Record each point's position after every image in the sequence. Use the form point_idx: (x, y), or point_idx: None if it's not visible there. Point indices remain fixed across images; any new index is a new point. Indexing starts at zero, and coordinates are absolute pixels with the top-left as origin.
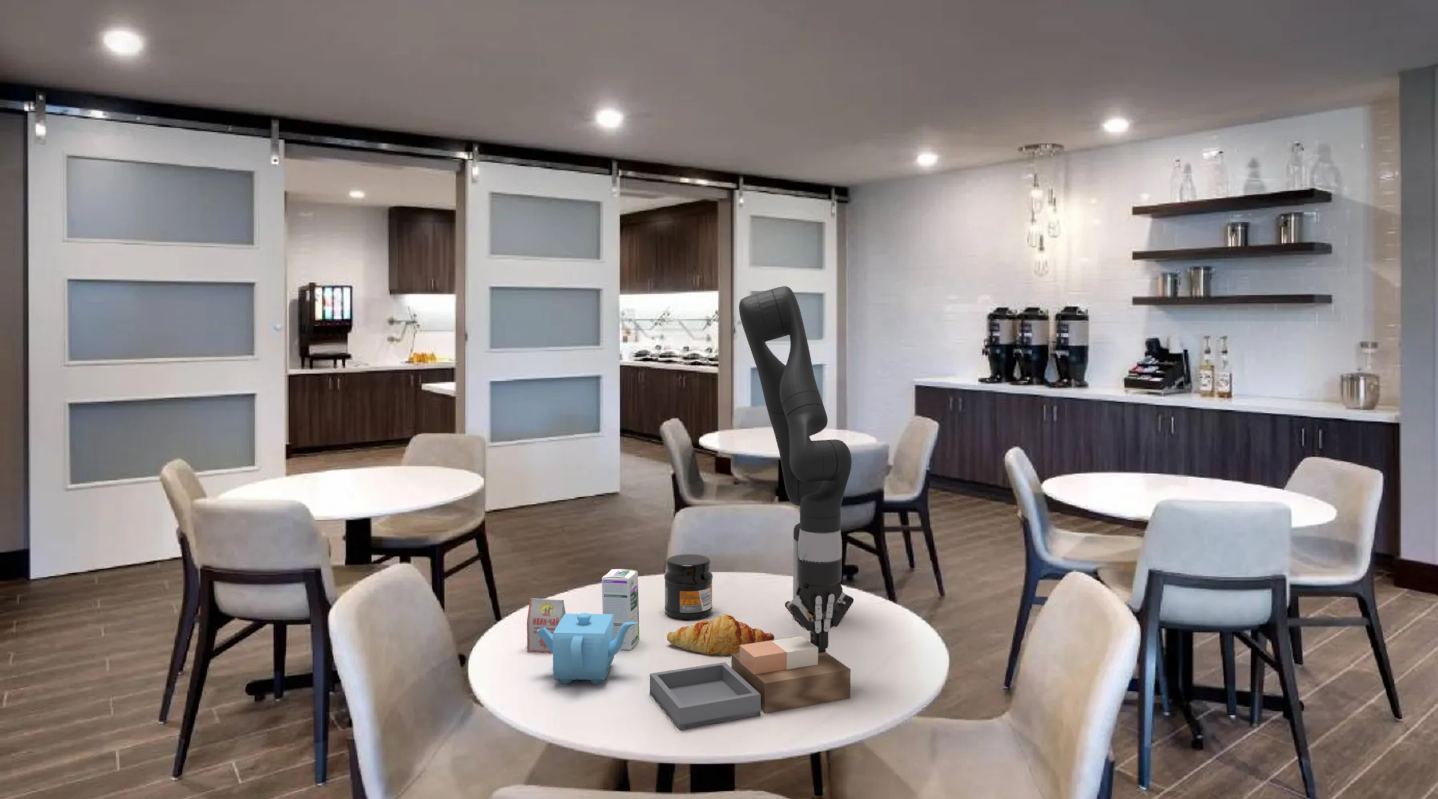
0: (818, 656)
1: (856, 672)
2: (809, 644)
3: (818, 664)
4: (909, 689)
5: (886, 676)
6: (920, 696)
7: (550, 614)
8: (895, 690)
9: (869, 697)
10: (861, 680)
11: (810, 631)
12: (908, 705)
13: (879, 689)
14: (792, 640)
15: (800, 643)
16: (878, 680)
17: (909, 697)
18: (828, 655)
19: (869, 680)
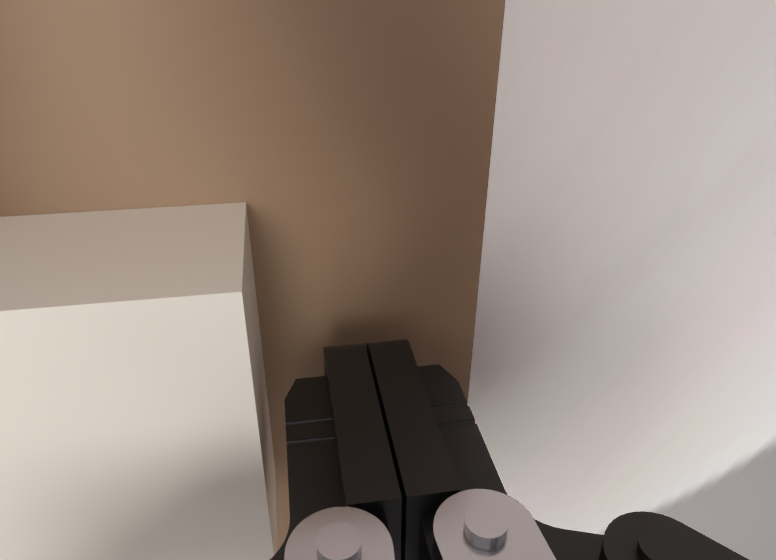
0: (361, 330)
1: (674, 130)
2: (226, 523)
3: (279, 467)
4: (728, 407)
5: (769, 244)
6: (706, 473)
7: None
8: (666, 402)
9: (503, 439)
10: (611, 251)
11: (289, 532)
12: (597, 529)
13: (610, 376)
14: (56, 393)
15: (130, 491)
16: (691, 279)
17: (660, 472)
18: (455, 332)
19: (650, 265)
